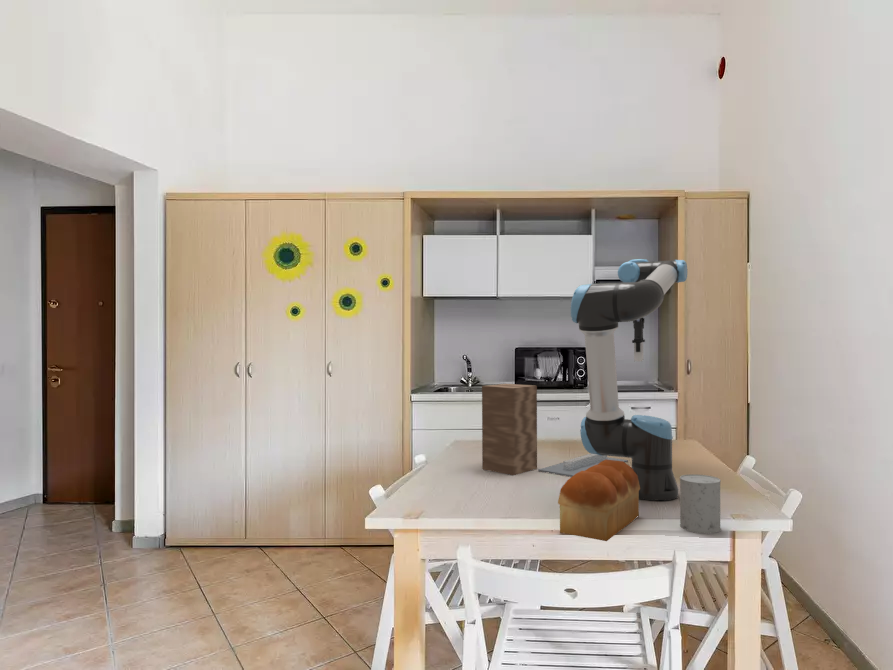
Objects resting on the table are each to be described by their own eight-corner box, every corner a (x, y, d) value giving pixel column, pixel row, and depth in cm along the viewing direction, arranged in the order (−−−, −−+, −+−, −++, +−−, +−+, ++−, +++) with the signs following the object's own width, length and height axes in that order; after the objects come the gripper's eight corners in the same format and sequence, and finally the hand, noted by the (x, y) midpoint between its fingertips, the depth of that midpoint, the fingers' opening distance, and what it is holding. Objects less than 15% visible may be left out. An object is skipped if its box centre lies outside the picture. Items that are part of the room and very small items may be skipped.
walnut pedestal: (506, 463, 238) (505, 383, 238) (537, 468, 228) (536, 385, 228) (482, 469, 228) (482, 386, 228) (513, 475, 218) (513, 388, 218)
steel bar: (599, 458, 243) (599, 450, 243) (606, 459, 241) (606, 451, 241) (563, 469, 224) (563, 461, 224) (570, 470, 222) (570, 462, 222)
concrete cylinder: (682, 532, 156) (682, 482, 156) (677, 520, 165) (677, 473, 165) (724, 534, 153) (724, 484, 153) (717, 523, 163) (716, 475, 163)
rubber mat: (590, 456, 251) (590, 454, 251) (627, 461, 240) (627, 460, 240) (538, 471, 225) (538, 469, 225) (577, 478, 214) (577, 476, 214)
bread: (607, 542, 149) (606, 479, 149) (557, 533, 156) (557, 473, 156) (640, 516, 169) (640, 461, 169) (595, 509, 176) (595, 456, 176)
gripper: (648, 300, 218) (648, 362, 218) (650, 303, 241) (650, 359, 241) (626, 300, 220) (626, 362, 220) (629, 303, 244) (629, 359, 244)
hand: (638, 360), depth 231 cm, fingers open, 13 cm apart
